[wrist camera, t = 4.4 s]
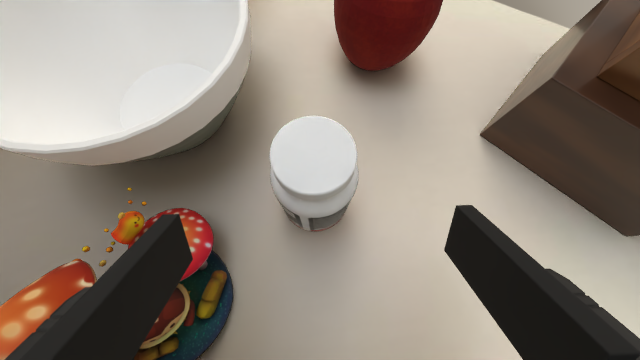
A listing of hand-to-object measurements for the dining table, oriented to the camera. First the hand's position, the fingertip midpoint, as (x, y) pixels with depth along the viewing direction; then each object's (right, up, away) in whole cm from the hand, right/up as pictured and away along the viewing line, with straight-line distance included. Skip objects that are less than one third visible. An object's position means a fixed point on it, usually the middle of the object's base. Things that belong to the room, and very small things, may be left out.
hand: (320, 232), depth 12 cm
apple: (+6, +17, +16) cm, 24 cm away
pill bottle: (0, +1, +10) cm, 10 cm away
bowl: (-15, +10, +13) cm, 22 cm away
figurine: (-12, -7, +7) cm, 15 cm away
